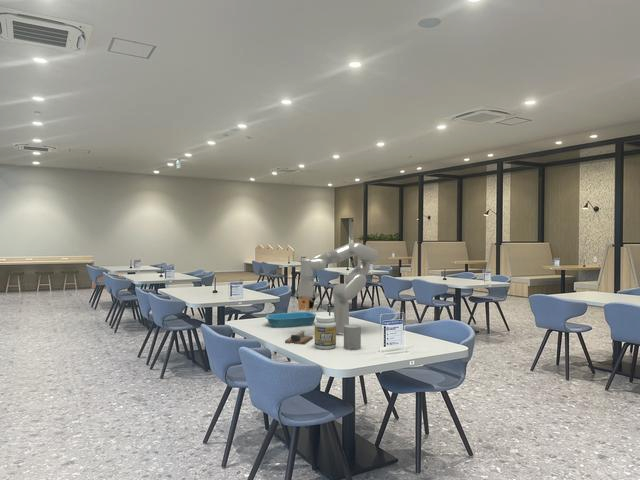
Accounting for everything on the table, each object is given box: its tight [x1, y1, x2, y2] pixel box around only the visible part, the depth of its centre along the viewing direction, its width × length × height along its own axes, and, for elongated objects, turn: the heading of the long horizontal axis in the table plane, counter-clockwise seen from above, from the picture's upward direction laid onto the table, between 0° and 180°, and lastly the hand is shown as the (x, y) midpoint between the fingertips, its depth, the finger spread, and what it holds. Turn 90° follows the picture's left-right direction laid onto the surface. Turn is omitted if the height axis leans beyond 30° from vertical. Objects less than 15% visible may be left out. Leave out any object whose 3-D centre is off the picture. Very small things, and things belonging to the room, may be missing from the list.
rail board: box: [284, 330, 314, 345], centre depth 282 cm, size 12×16×4 cm
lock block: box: [298, 297, 314, 312], centre depth 294 cm, size 6×8×7 cm
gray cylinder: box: [343, 323, 362, 351], centre depth 264 cm, size 10×10×12 cm
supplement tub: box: [313, 315, 337, 350], centre depth 266 cm, size 12×12×17 cm
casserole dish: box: [264, 311, 317, 329], centre depth 334 cm, size 37×22×7 cm, turn 111°
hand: (305, 307), depth 294 cm, fingers closed on lock block, 6 cm apart
